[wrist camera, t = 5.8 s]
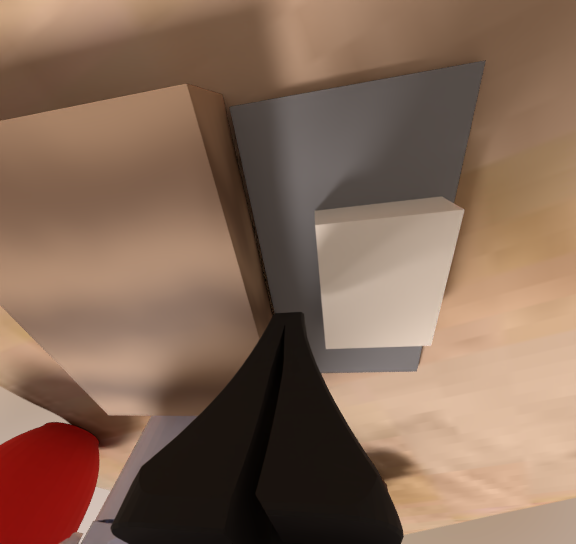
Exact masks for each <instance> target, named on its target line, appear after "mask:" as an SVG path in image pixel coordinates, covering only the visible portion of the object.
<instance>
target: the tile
mask: <svg viewBox="0 0 576 544" xmlns="http://www.w3.org/2000/svg"><path fill="white" fill-rule="evenodd" d="M464 210H465V209H463V208H461V207H459V206H458V205H456V204H454V203H452V202H451V201H449V200H447V199H445V198H444V197H442V196H440V197H432V198H423V199H414V200H405V201H396V202H387V203H379V204H370V205H361V206H352V207H343V208H335V209H326V210H317V211H314V213H315V230H316V242H317V253H318V265H319V276H320V288H321V300H322V311H323V323H324V334H325V346H326V349H345V348H376V347H407V346H431V344H432V340H433V336H434V332H435V328H436V324H437V320H438V316H439V312H440V308H441V304H442V299H443V295H444V291H445V287H446V283H447V279H448V275H449V271H450V267H451V263H452V259H453V255H454V251H455V247H456V243H457V239H458V235H459V230H460V226H461V222H462V218H463V214H464Z"/></svg>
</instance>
